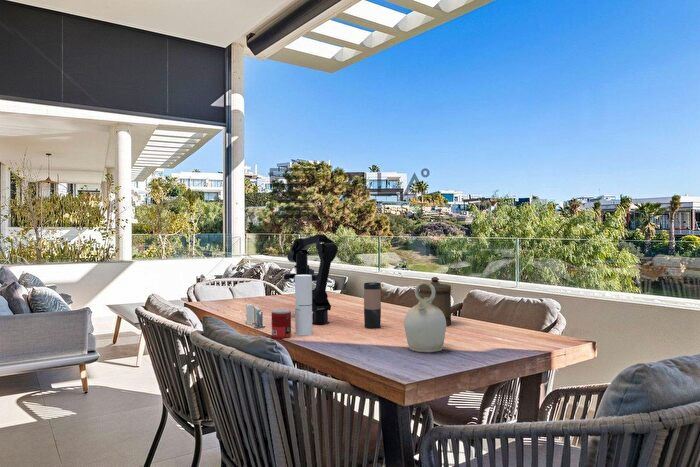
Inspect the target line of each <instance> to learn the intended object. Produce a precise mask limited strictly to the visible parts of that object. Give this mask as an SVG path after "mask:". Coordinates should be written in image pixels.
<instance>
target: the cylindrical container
mask: <svg viewBox="0 0 700 467" xmlns="http://www.w3.org/2000/svg"><path fill="white" fill-rule="evenodd" d="M312 290H313V281H312V275H295V282H294V300H295V301H294V306H295V307H294V315H295V316H294V325H295V326H294V327H295V329H294V331H295V334H294V335H295V336H298V337H308V336H312V335H313V324H312V314H313V312H312Z"/></svg>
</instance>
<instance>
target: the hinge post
mask: <svg viewBox="0 0 700 467" xmlns="http://www.w3.org/2000/svg"><path fill="white" fill-rule="evenodd" d="M263 318H264V316H263V311H260V312H257V324H256V326H253V329H258V328H262V329H265V327H266V328H267V325H264V324H263V322H264V320H263Z"/></svg>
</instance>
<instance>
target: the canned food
mask: <svg viewBox="0 0 700 467" xmlns="http://www.w3.org/2000/svg"><path fill="white" fill-rule="evenodd" d="M271 336H272V339H275V340H276V339H277V340H279V339H280V340H282V339H283V340H284V339H285V338H286V339H290V338H291V336H292V310H291V309H287V308H281V309H279V308H278V309H272V310H271Z"/></svg>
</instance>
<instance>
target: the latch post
mask: <svg viewBox="0 0 700 467" xmlns="http://www.w3.org/2000/svg"><path fill="white" fill-rule="evenodd" d="M253 306H254V304H251V303H250V304H246V306H245V307H246V308H245V311H246V315H245V317H246V324H247V325H252V324H251V323H253V324H254V309H253Z"/></svg>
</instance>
